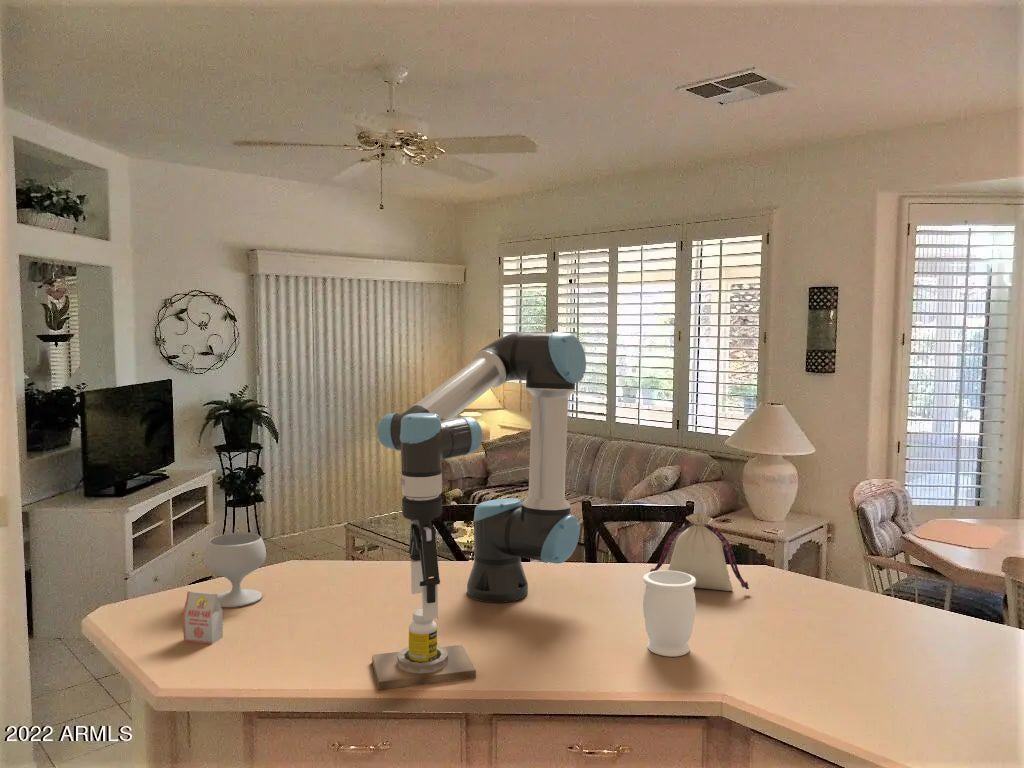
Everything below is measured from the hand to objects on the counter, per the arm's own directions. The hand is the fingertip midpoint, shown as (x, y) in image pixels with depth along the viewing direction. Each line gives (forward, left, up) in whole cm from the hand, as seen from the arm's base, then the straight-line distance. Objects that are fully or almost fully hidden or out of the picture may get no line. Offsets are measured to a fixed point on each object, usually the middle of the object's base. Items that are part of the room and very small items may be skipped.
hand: (424, 605), depth 145 cm
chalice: (+37, -50, -13) cm, 63 cm away
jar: (-50, +4, -13) cm, 51 cm away
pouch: (-75, -28, -13) cm, 81 cm away
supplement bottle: (0, 0, -11) cm, 11 cm away
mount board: (0, 0, -13) cm, 13 cm away
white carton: (+42, -27, -13) cm, 52 cm away
